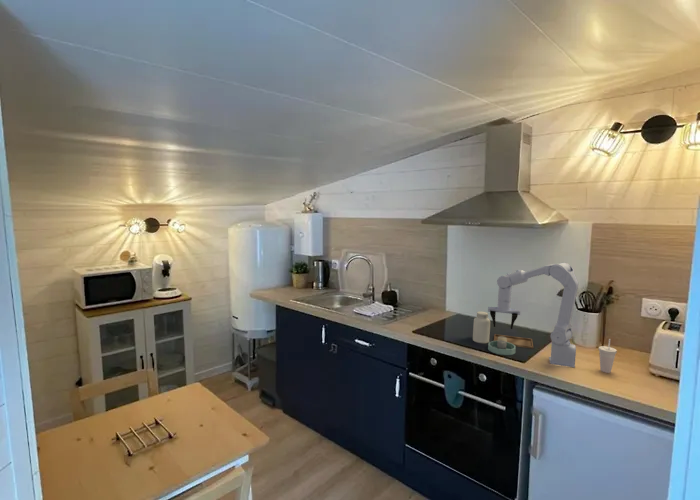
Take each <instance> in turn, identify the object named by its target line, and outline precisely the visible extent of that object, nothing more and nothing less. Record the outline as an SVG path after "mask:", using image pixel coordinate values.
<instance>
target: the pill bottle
mask: <svg viewBox="0 0 700 500" xmlns="http://www.w3.org/2000/svg"><path fill="white" fill-rule="evenodd" d="M472 328H473V329H472V341H474V342H475V343H478V344H487V343H489V342H490V335H491V334H490V332H491V320H490V318H489V313H488V311H487V312H486V311H482V310H481V311H477V312H476V317H474V319H473V327H472Z"/></svg>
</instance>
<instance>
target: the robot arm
mask: <svg viewBox="0 0 700 500" xmlns="http://www.w3.org/2000/svg"><path fill="white" fill-rule="evenodd" d="M543 275H544V276H547V277H549V276H551V277H552V279H554V280H556V281H557V282H559V283H560V284H561V285H562V286H563V291H562V297H561V302H560V307H559V311H558V312H559V313H558V317H557V321H556V323H555V326H554V329H553V331H552V332H551V333H550V340H551V347H550V348H551V349H550V356H548V359H549V364H550V365H554V366H561V367H568V368H569V367H570V368H576V357H577V356H576V355H577V353H576V352H577V348H576V347H577V346H576V345H575V344H573V343H571V341H570V339H572V337H573V332H572V331H573V330H572V327H573V326H572V317H573V313H574V308H575V303H576V299H577V294H578V289H579V281H578V279H577V276H576V274H575V269H574V268H573V266H571V265H570V264H569V263H568V262H564V261H562V262H559V263H551V264H546V265H543V266H540V267H537V268H534V269H531V270H528V271H525V270H523V269H517V270H515V272H511V273H509V272H507V273H506V274H505V275H501V276H499V277H498V278H497V281H496V283H497V284H496V285H497V286H498V295H497V296H498V297H497V306H488V307H487V313H488V312H489V315H490V317H491V320H492V323H493V327H496V316H497V315H496V314H497V313H501V314H502V313H503V314H509V315H510V314H511V321H510V322H511V323H510V329H511V330H513V326H514V324H515V322H516V320H517V319H518V316H521V309H515V308H512V307H511V306H512V304H511V303H512V286H516V285H519V284H523V283H527V282H528V280H529V279H530V278H531V279H532V278H534V277H538V276H543Z"/></svg>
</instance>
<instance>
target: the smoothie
mask: <svg viewBox="0 0 700 500" xmlns="http://www.w3.org/2000/svg"><path fill="white" fill-rule="evenodd" d="M598 351H599V367H600V371H601V372H603V373H606V374H610V373H612V369H613V365H614V361H615V357H616V354H617V353H618V352H617V351H618V350H617V349H616V348H614V347H611V338H608V346H606V345H605V346H604V345H602V346H598Z"/></svg>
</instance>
